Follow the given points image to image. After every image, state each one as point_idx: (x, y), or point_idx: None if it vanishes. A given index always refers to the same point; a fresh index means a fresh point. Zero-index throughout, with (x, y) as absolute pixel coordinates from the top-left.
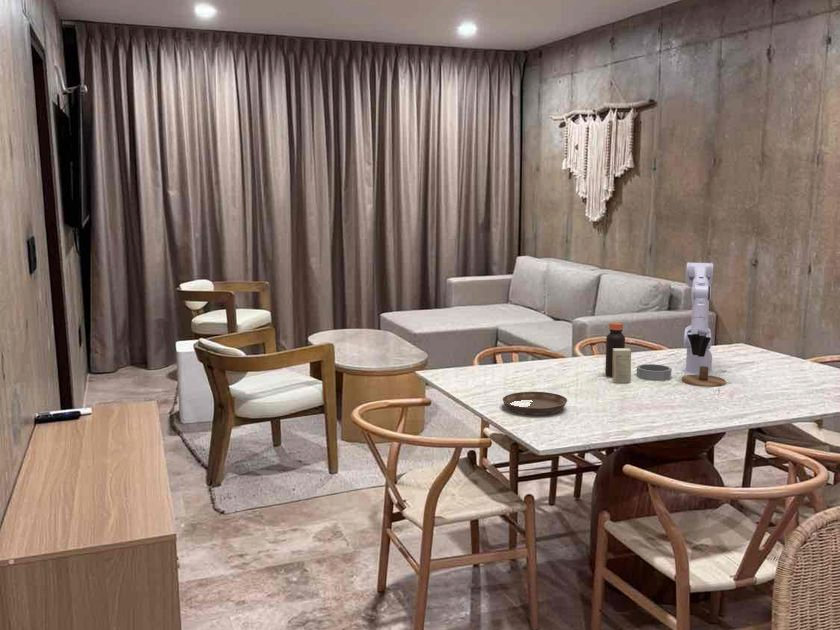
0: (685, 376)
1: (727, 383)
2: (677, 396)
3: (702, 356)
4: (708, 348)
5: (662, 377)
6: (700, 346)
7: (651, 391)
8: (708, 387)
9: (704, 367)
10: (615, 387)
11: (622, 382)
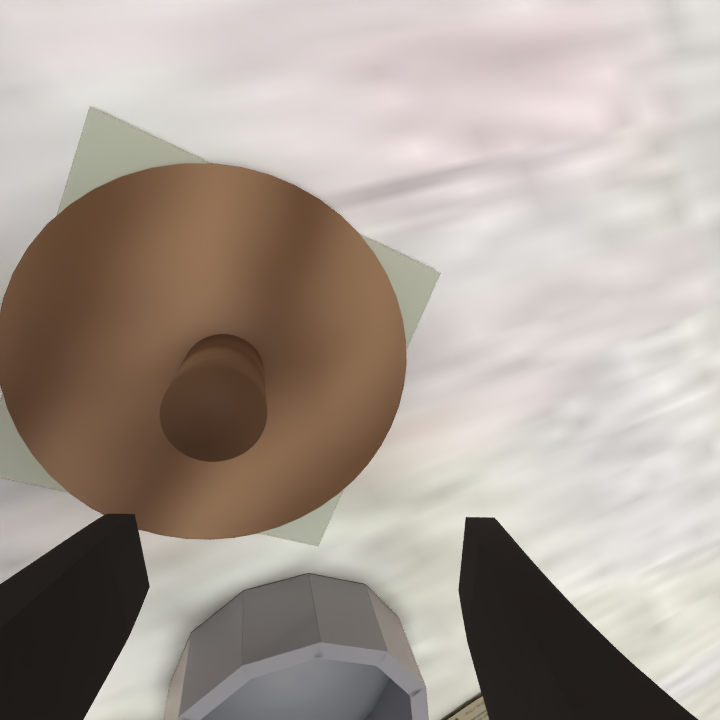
0: (209, 525)
1: (157, 150)
2: (665, 381)
3: (137, 532)
4: None
5: (380, 616)
6: (577, 632)
7: (611, 532)
8: (409, 270)
9: (222, 408)
10: None
11: None
